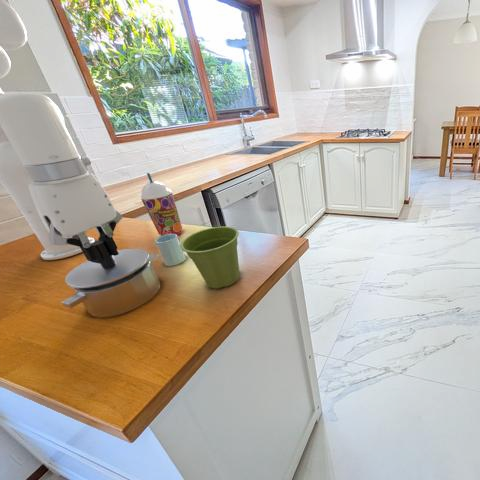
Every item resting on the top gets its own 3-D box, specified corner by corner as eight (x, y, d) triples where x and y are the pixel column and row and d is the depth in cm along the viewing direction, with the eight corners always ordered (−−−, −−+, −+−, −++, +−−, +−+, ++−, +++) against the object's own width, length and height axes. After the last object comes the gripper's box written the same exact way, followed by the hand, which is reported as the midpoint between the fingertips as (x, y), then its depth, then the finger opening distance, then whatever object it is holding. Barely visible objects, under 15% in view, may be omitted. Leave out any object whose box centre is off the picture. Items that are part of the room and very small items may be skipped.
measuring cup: (160, 264, 77) (150, 241, 73) (176, 255, 81) (167, 232, 78) (174, 267, 75) (164, 243, 72) (189, 257, 79) (181, 234, 76)
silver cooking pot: (59, 319, 59) (41, 294, 56) (143, 269, 75) (133, 248, 72) (102, 332, 55) (85, 306, 52) (182, 277, 70) (173, 254, 67)
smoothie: (173, 240, 89) (148, 177, 80) (151, 239, 91) (123, 177, 82) (191, 228, 97) (170, 169, 87) (170, 228, 98) (147, 169, 89)
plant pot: (186, 297, 63) (168, 252, 58) (211, 267, 74) (197, 227, 68) (239, 295, 63) (225, 250, 57) (256, 265, 73) (246, 225, 68)
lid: (51, 283, 58) (32, 256, 55) (121, 249, 70) (109, 224, 67) (98, 296, 54) (80, 266, 51) (165, 257, 66) (154, 231, 62)
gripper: (92, 159, 60) (129, 238, 68) (-15, 183, 46) (48, 277, 55) (117, 160, 57) (152, 242, 66) (12, 185, 44) (73, 283, 53)
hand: (104, 257), depth 60 cm, fingers closed on lid, 2 cm apart
